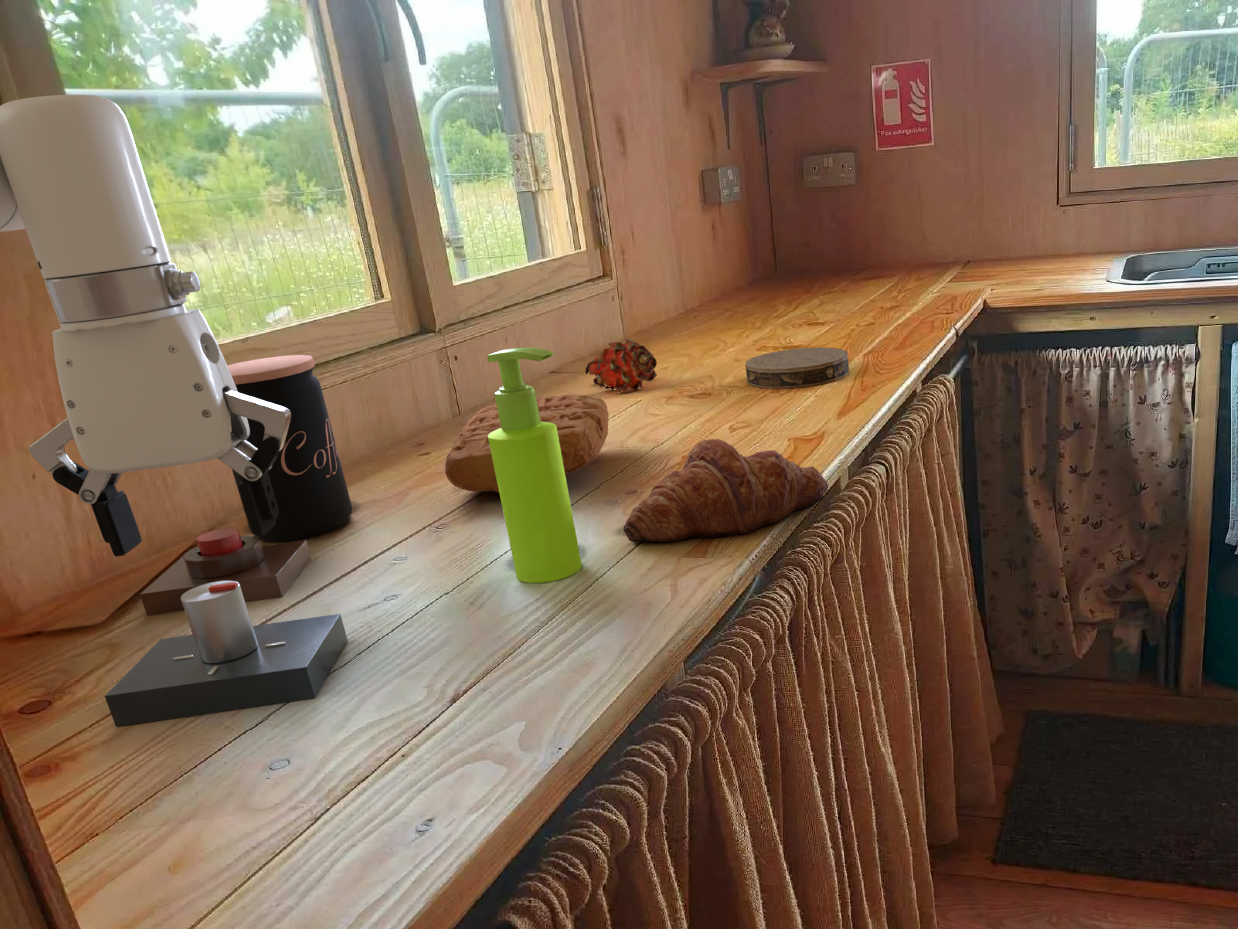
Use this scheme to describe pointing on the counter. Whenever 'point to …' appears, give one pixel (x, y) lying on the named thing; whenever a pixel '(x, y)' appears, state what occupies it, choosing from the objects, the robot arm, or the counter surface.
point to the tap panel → (229, 673)
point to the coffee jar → (297, 449)
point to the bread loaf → (572, 415)
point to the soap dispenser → (531, 477)
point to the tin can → (797, 368)
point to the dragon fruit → (623, 366)
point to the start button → (219, 541)
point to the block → (230, 573)
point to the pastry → (723, 495)
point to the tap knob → (219, 621)
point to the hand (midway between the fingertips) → (197, 540)
